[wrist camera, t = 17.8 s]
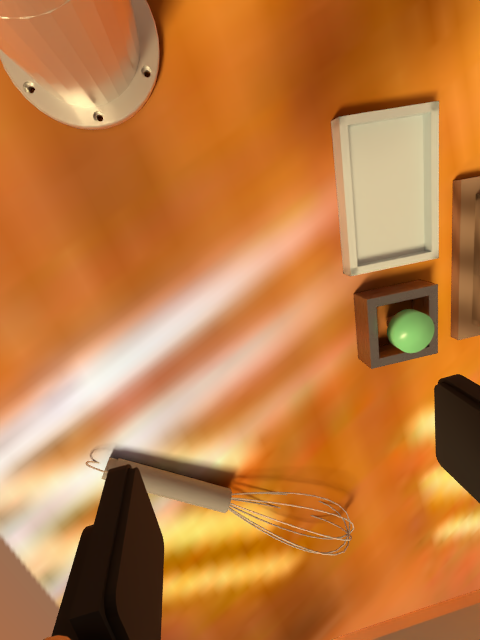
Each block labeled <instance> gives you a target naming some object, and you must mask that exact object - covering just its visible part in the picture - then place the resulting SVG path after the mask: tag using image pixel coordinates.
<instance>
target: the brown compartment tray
mask: <svg viewBox="0 0 480 640" xmlns="http://www.w3.org/2000/svg"><path fill="white" fill-rule="evenodd" d="M478 335H480V176H477V177H471V178H466V179H460V180H455V181H453V218H452V297H451V337H452V338H455V339H457V340H461V339H465V338H469V337H474V336H478Z"/></svg>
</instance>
